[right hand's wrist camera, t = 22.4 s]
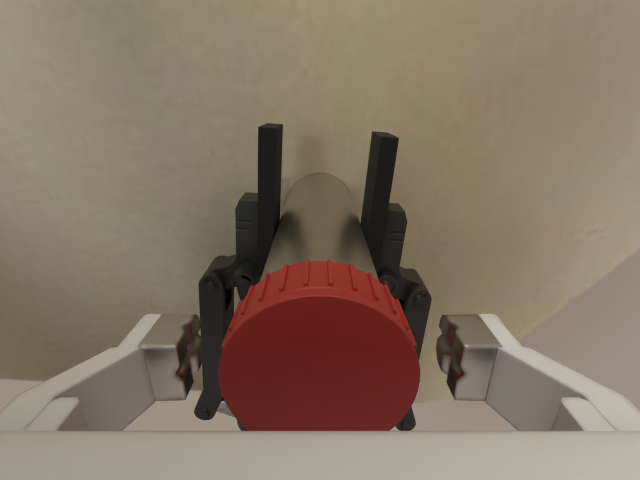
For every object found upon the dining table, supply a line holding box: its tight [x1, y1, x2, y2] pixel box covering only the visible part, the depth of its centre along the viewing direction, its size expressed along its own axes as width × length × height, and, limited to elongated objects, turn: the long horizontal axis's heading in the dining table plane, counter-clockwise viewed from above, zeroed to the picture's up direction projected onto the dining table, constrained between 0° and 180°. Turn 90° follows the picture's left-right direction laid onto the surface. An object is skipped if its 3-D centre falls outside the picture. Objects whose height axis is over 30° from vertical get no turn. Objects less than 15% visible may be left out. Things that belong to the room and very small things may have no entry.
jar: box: [260, 173, 379, 281], centre depth 16 cm, size 4×4×15 cm
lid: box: [218, 259, 420, 431], centre depth 10 cm, size 5×5×2 cm
